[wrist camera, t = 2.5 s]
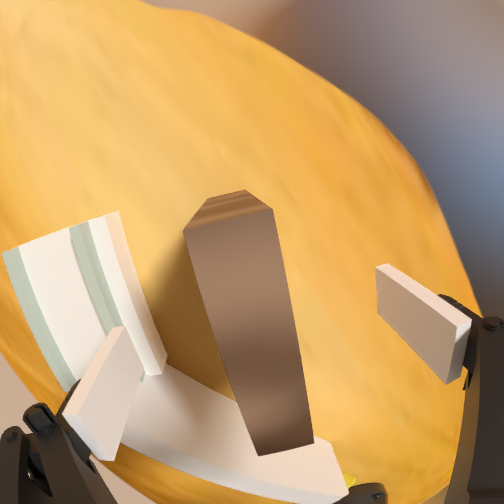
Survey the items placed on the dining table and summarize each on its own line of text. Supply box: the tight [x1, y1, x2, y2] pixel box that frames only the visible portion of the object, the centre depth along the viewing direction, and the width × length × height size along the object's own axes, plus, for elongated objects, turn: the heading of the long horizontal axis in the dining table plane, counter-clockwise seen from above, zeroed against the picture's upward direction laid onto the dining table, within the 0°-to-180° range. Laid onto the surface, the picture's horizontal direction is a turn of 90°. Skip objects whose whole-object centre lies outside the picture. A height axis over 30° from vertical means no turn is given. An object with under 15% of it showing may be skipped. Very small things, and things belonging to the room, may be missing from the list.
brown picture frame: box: [183, 190, 314, 456], centre depth 18 cm, size 12×4×14 cm, turn 12°
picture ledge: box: [2, 211, 168, 392], centre depth 22 cm, size 14×12×4 cm
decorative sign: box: [120, 363, 357, 504], centre depth 25 cm, size 32×4×10 cm, turn 51°
